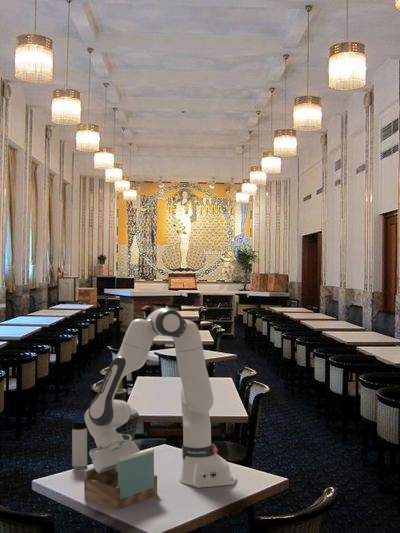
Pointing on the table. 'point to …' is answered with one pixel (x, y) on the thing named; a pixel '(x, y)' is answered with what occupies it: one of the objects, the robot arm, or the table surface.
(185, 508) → the table surface
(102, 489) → the wooden drawer
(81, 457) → the travel mug
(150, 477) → the teal flat panel
